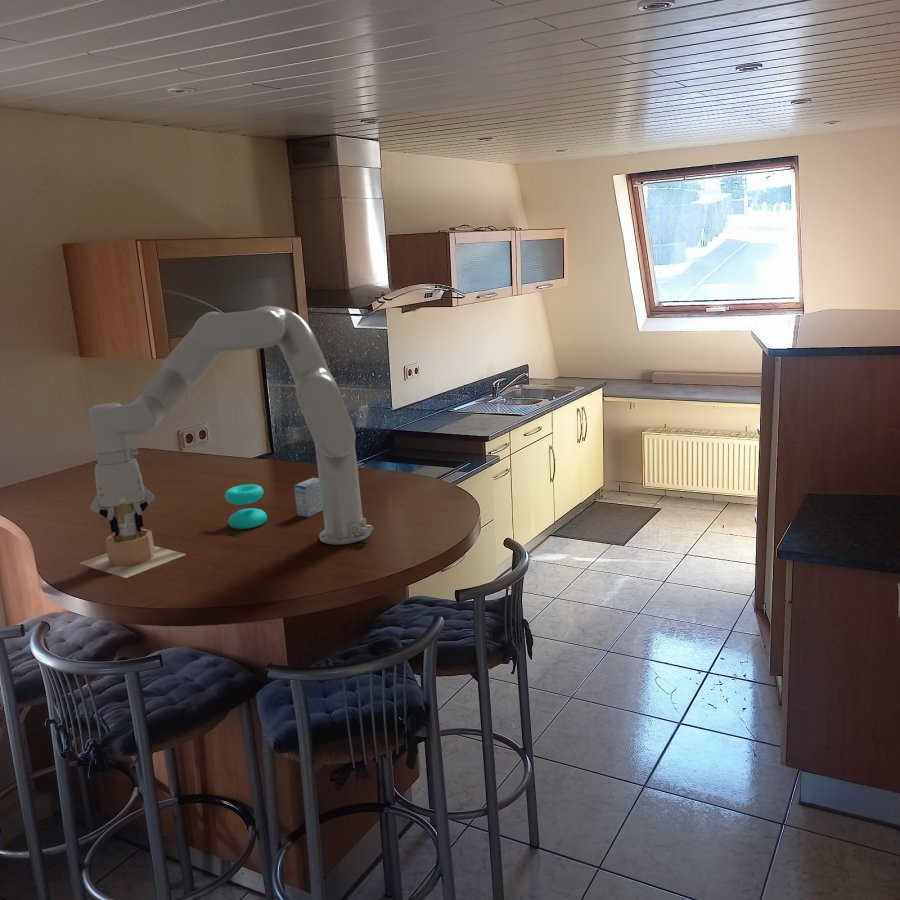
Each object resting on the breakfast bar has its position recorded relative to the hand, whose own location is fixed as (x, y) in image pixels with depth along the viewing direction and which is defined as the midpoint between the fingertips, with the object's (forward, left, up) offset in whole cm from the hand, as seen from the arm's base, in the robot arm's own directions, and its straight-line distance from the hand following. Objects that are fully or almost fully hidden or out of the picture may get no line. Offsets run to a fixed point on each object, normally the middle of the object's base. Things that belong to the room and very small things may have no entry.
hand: (128, 531), depth 195 cm
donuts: (-2, -33, -9) cm, 34 cm away
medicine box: (-11, -48, -9) cm, 50 cm away
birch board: (0, 0, -8) cm, 8 cm away
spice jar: (0, 0, -4) cm, 4 cm away
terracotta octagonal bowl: (0, 0, -7) cm, 7 cm away
